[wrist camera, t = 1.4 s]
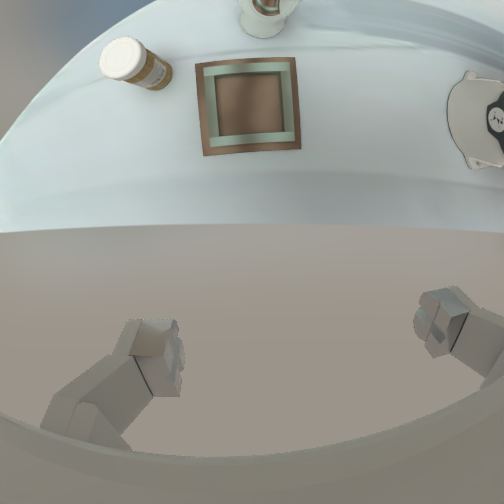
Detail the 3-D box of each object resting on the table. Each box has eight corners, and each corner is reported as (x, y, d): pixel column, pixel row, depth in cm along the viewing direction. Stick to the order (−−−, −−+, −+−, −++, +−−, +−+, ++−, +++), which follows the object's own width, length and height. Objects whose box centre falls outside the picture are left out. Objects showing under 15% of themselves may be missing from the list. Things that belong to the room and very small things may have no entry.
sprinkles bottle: (162, 55, 29) (127, 26, 17) (179, 77, 31) (149, 56, 19) (135, 74, 30) (90, 57, 18) (151, 97, 32) (110, 87, 20)
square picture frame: (293, 59, 30) (298, 53, 27) (299, 148, 36) (305, 150, 33) (196, 65, 30) (192, 59, 27) (204, 155, 36) (200, 158, 33)
